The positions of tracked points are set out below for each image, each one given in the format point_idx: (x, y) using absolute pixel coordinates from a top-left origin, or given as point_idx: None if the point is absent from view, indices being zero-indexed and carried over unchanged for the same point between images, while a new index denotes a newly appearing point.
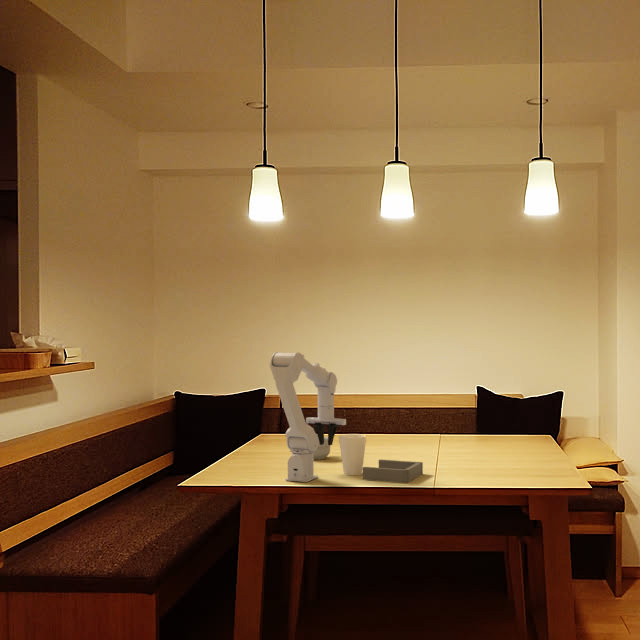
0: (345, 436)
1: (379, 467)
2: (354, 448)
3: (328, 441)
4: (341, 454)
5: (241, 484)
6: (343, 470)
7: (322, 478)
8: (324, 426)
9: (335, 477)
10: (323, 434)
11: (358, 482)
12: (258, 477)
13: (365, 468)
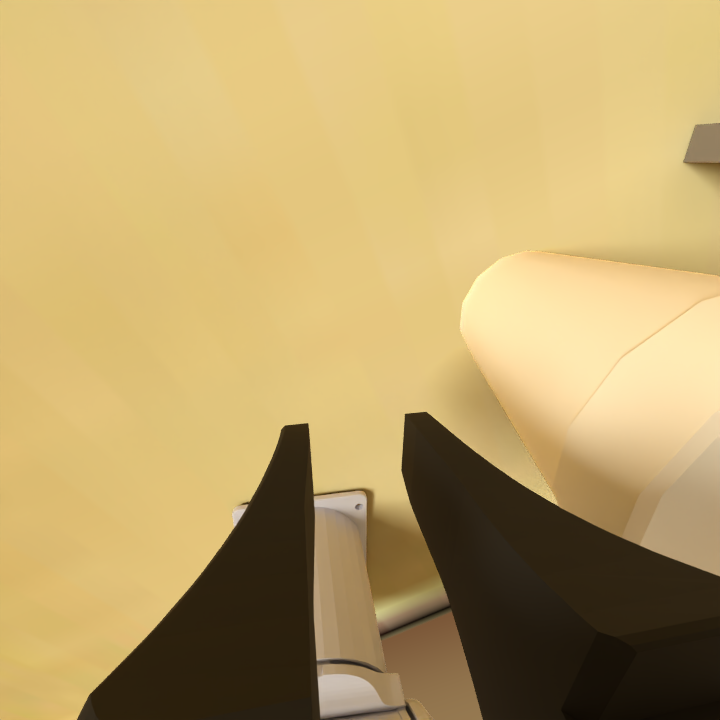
0: (682, 428)
1: (717, 161)
2: (685, 491)
3: (421, 513)
4: (521, 438)
5: None
6: (476, 362)
7: (393, 492)
8: (310, 655)
9: None
10: (306, 522)
11: None
12: (70, 609)
13: None
